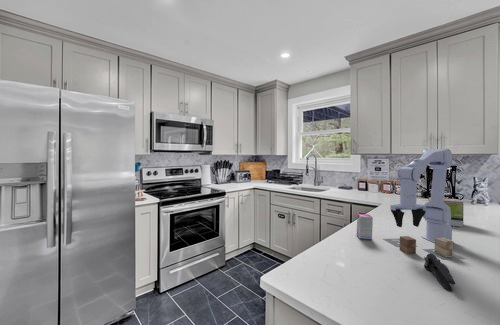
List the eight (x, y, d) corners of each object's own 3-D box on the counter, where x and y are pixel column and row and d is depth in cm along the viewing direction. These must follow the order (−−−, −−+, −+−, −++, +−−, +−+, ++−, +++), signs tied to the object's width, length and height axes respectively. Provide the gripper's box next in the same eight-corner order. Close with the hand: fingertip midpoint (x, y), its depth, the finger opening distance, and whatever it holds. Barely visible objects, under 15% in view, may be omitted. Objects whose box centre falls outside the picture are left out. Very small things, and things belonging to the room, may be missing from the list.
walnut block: (408, 249, 98) (408, 236, 97) (415, 253, 94) (416, 239, 93) (399, 250, 97) (399, 236, 97) (406, 254, 93) (407, 239, 93)
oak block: (441, 251, 96) (442, 237, 96) (452, 255, 92) (452, 240, 92) (434, 252, 95) (434, 238, 94) (444, 256, 91) (445, 241, 91)
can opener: (420, 264, 85) (420, 249, 85) (443, 268, 82) (444, 253, 82) (435, 289, 69) (435, 271, 69) (465, 296, 66) (465, 277, 66)
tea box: (459, 223, 138) (459, 199, 137) (463, 227, 129) (464, 201, 129) (428, 219, 146) (428, 196, 145) (430, 223, 137) (430, 199, 137)
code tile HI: (443, 248, 99) (443, 248, 99) (466, 259, 89) (466, 259, 89) (421, 249, 98) (421, 249, 98) (443, 260, 88) (443, 259, 88)
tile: (401, 238, 111) (401, 238, 111) (418, 246, 101) (418, 246, 101) (382, 239, 110) (382, 238, 110) (397, 247, 100) (397, 247, 100)
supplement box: (372, 240, 108) (373, 216, 108) (359, 239, 109) (359, 216, 109) (368, 236, 114) (369, 213, 113) (356, 235, 115) (356, 213, 115)
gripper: (399, 196, 92) (398, 229, 92) (432, 196, 93) (431, 228, 94) (387, 194, 99) (386, 224, 100) (418, 193, 100) (417, 223, 101)
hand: (407, 226), depth 97 cm, fingers open, 7 cm apart
